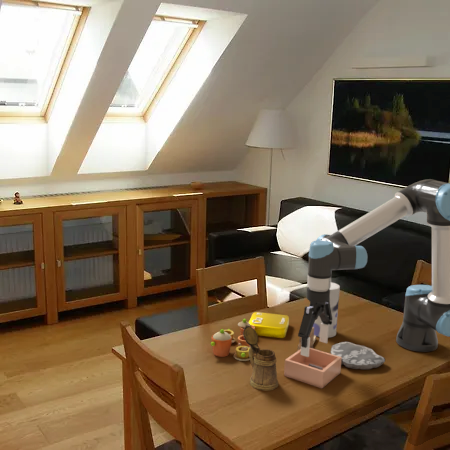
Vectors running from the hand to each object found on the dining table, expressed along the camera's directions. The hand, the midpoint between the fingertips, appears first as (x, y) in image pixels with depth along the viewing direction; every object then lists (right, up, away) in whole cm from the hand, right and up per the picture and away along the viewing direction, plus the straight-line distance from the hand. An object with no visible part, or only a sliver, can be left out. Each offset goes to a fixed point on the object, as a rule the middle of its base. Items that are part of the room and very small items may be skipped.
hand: (314, 348), depth 193 cm
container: (+9, -2, +37) cm, 39 cm away
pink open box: (0, -9, +2) cm, 10 cm away
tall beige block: (-1, -6, +14) cm, 16 cm away
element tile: (-12, -1, +40) cm, 42 cm away
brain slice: (+16, -8, +13) cm, 23 cm away
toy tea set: (-26, -4, +23) cm, 35 cm away
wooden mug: (-19, -10, -4) cm, 22 cm away
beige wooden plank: (+1, -4, +26) cm, 27 cm away
